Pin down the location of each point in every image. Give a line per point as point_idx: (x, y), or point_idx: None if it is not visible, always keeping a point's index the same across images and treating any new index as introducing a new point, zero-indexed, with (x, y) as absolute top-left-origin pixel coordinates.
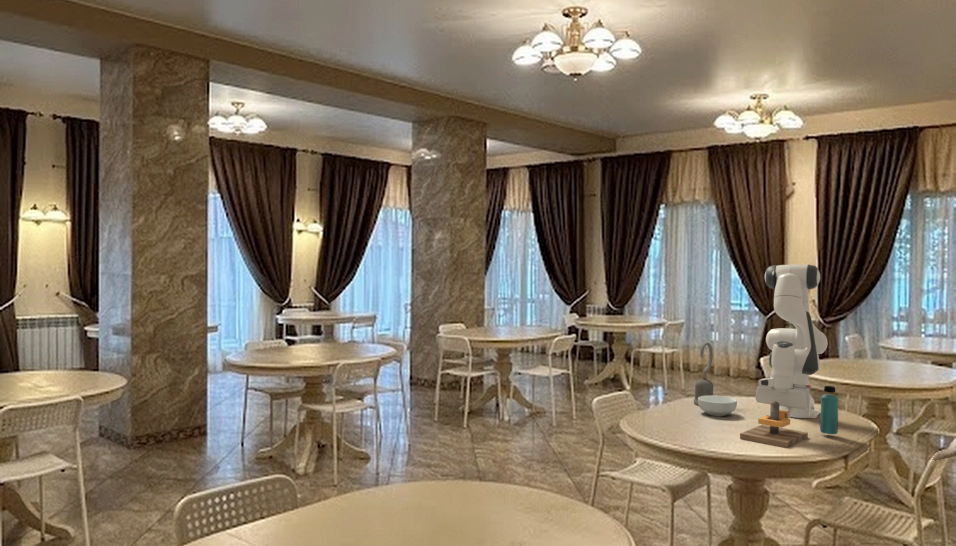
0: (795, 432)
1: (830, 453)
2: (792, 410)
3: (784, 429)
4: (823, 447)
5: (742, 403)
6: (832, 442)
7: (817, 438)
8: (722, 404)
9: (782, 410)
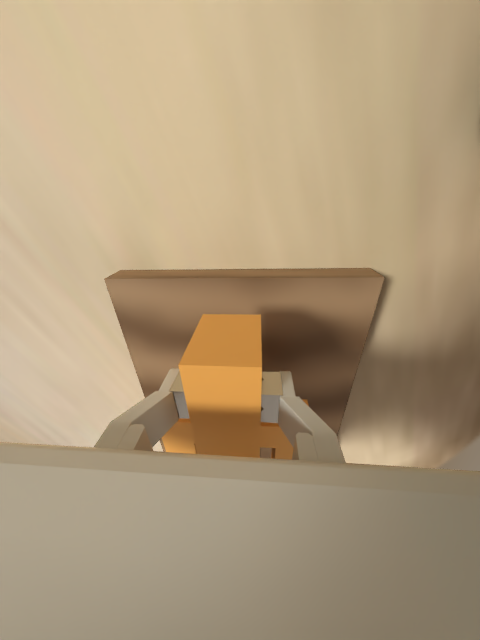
0: (317, 327)
1: (465, 439)
2: (326, 424)
3: (246, 303)
4: (446, 389)
5: None
6: None
7: (427, 241)
8: None
9: (216, 395)
